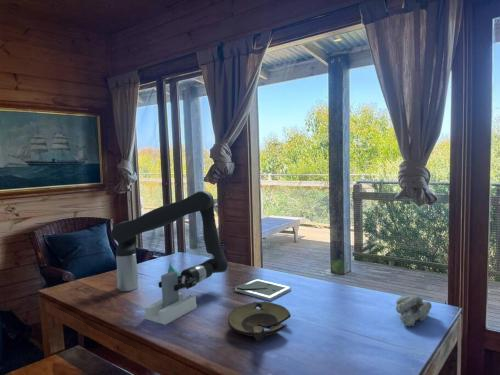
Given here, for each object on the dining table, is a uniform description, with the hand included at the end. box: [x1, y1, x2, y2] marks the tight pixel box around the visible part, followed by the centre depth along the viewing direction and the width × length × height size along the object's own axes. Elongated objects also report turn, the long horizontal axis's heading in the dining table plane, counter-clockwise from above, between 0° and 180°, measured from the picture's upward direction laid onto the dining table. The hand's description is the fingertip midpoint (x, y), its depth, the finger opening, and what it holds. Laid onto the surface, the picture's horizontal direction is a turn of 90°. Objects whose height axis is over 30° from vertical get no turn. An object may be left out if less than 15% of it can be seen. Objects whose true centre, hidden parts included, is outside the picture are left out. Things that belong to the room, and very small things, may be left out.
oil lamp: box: [227, 300, 292, 342], centre depth 129 cm, size 22×30×8 cm
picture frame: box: [234, 278, 292, 302], centre depth 169 cm, size 16×3×21 cm
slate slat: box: [160, 271, 179, 308], centre depth 148 cm, size 3×6×15 cm, turn 147°
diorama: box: [167, 262, 183, 275], centre depth 197 cm, size 12×20×9 cm, turn 140°
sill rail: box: [144, 291, 198, 326], centre depth 148 cm, size 11×18×5 cm, turn 147°
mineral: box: [395, 294, 433, 327], centre depth 133 cm, size 12×17×10 cm
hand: (166, 287), depth 146 cm, fingers open, 8 cm apart
